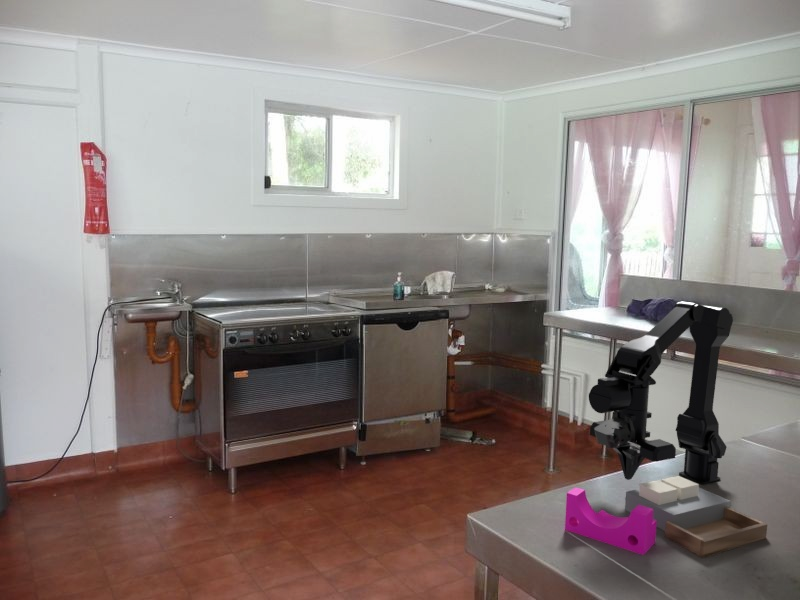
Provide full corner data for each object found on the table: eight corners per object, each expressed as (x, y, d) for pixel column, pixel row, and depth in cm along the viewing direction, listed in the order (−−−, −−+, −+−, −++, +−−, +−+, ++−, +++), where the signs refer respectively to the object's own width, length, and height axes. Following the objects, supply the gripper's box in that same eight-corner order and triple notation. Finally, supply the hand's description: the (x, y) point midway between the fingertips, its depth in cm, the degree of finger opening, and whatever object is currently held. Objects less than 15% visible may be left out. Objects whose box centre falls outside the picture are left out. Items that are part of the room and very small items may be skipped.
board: (624, 510, 139) (626, 491, 138) (680, 497, 146) (681, 479, 146) (672, 535, 128) (673, 515, 128) (729, 520, 136) (730, 500, 135)
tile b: (660, 490, 139) (661, 479, 139) (677, 486, 142) (678, 475, 141) (680, 499, 135) (681, 488, 135) (697, 495, 137) (698, 484, 137)
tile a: (639, 495, 137) (639, 484, 136) (656, 491, 139) (657, 480, 139) (658, 504, 132) (659, 493, 132) (676, 500, 135) (677, 489, 134)
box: (664, 537, 127) (665, 522, 127) (725, 521, 135) (727, 506, 135) (703, 558, 120) (704, 541, 119) (765, 539, 127) (767, 524, 127)
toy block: (655, 543, 125) (657, 504, 124) (643, 556, 120) (646, 515, 120) (578, 519, 135) (580, 483, 134) (564, 530, 130) (566, 492, 129)
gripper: (572, 399, 145) (568, 469, 147) (638, 423, 129) (633, 502, 131) (611, 394, 150) (607, 462, 152) (680, 417, 134) (674, 493, 136)
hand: (628, 479), depth 143 cm, fingers closed
